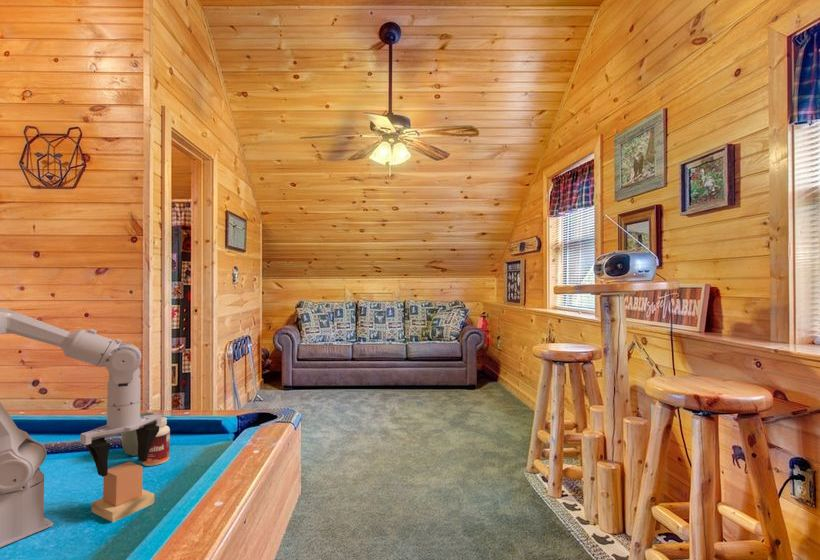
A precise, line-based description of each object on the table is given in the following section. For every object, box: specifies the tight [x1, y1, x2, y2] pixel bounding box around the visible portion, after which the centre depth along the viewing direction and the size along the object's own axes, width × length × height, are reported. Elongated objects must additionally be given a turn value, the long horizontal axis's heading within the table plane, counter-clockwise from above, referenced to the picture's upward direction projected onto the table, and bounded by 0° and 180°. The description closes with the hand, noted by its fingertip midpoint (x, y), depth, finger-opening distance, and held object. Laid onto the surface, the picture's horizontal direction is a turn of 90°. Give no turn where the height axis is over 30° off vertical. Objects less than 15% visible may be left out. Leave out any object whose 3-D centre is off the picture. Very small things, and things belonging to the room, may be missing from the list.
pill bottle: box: [141, 416, 171, 467], centre depth 107 cm, size 6×6×11 cm
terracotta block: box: [102, 461, 144, 506], centre depth 86 cm, size 5×5×6 cm
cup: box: [120, 411, 155, 457], centre depth 113 cm, size 8×8×10 cm
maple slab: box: [91, 488, 155, 523], centre depth 85 cm, size 8×8×2 cm
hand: (123, 467), depth 85 cm, fingers open, 7 cm apart
